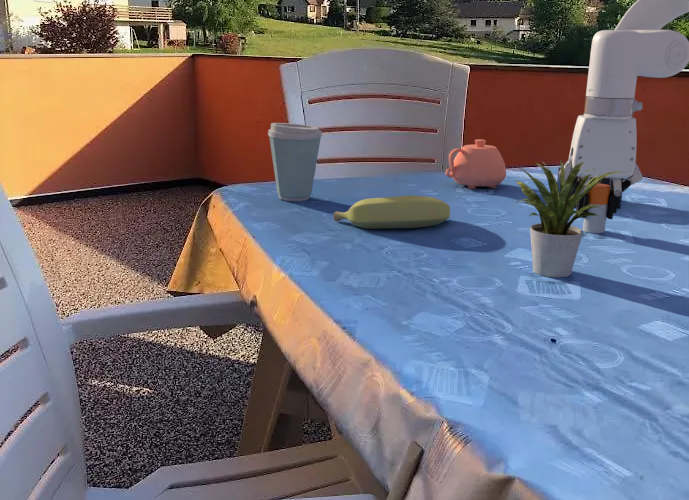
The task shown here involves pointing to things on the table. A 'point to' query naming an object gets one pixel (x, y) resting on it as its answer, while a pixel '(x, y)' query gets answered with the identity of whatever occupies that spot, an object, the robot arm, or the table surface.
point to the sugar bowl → (477, 165)
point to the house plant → (557, 221)
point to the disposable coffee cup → (294, 159)
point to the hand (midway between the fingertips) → (595, 215)
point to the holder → (603, 181)
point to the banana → (396, 212)
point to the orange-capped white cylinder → (597, 209)
